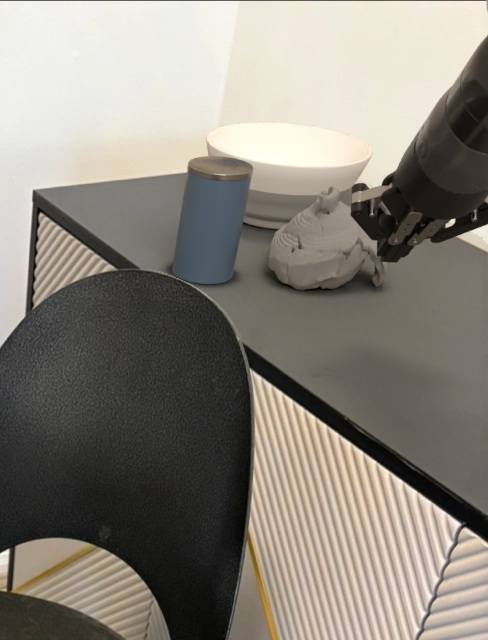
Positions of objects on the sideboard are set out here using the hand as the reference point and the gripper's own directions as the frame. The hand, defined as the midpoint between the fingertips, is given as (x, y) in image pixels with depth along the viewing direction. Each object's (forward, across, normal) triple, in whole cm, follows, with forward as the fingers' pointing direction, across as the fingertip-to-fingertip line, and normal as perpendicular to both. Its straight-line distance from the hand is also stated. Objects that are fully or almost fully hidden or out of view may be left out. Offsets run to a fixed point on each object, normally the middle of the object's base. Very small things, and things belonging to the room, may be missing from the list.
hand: (388, 252), depth 103 cm
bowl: (+33, +3, -21) cm, 39 cm away
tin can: (+18, +14, -6) cm, 24 cm away
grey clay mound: (+18, +1, -6) cm, 19 cm away
